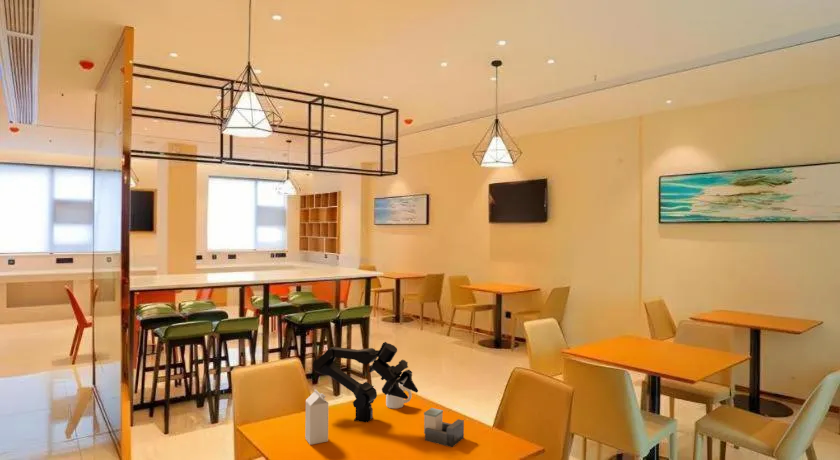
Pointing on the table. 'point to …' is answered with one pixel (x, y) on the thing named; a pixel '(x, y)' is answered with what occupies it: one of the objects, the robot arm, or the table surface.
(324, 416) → the milk carton
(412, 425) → the table surface
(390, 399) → the mug
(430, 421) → the plunger key
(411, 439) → the table surface
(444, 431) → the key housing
